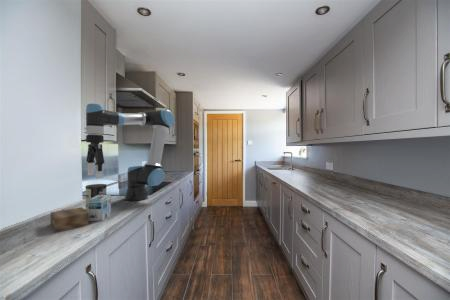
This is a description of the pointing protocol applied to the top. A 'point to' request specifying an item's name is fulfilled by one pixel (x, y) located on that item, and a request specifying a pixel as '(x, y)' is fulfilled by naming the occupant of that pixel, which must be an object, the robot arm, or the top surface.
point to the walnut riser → (69, 219)
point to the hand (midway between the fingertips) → (94, 176)
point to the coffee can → (94, 192)
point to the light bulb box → (99, 207)
